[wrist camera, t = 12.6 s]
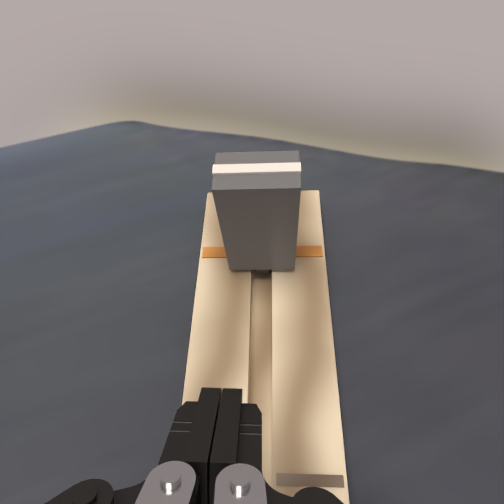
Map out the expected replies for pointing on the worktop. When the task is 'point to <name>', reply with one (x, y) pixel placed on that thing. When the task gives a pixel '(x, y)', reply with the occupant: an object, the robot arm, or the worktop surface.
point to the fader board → (274, 353)
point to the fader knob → (258, 208)
